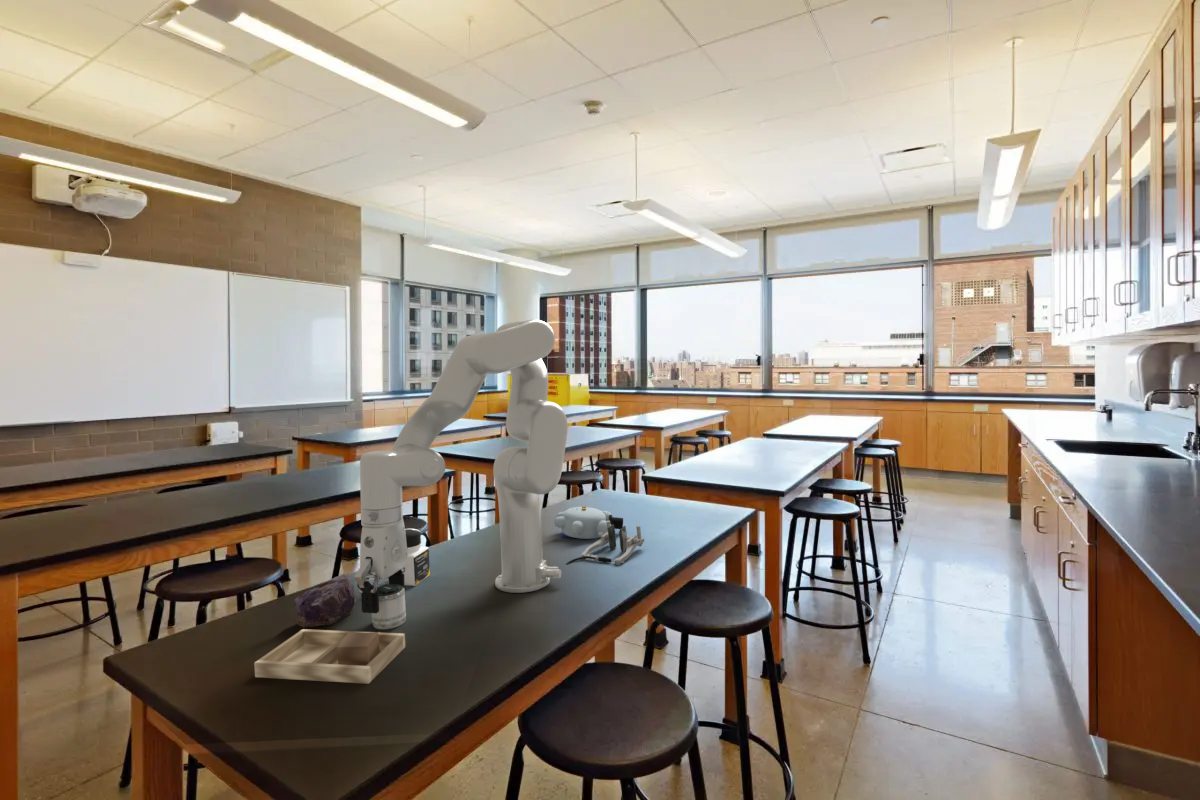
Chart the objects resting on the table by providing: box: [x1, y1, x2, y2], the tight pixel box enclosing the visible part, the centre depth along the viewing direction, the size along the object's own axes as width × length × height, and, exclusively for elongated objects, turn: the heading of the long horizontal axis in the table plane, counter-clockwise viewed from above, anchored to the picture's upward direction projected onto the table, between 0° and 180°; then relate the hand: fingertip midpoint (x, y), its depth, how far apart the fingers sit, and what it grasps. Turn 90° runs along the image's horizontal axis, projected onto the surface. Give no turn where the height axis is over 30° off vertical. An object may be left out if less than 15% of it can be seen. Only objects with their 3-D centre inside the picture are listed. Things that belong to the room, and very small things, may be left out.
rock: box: [294, 572, 357, 629], centre depth 116 cm, size 12×9×10 cm
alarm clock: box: [553, 505, 624, 540], centre depth 171 cm, size 17×8×20 cm
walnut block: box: [337, 631, 380, 666], centre depth 98 cm, size 5×5×4 cm
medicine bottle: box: [387, 528, 431, 587], centre depth 138 cm, size 7×7×12 cm
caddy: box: [253, 628, 406, 685], centre depth 99 cm, size 20×12×3 cm, turn 81°
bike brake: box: [565, 521, 645, 566], centre depth 151 cm, size 14×7×20 cm
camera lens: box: [371, 583, 407, 630], centre depth 113 cm, size 6×6×8 cm
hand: (384, 602), depth 113 cm, fingers open, 9 cm apart
